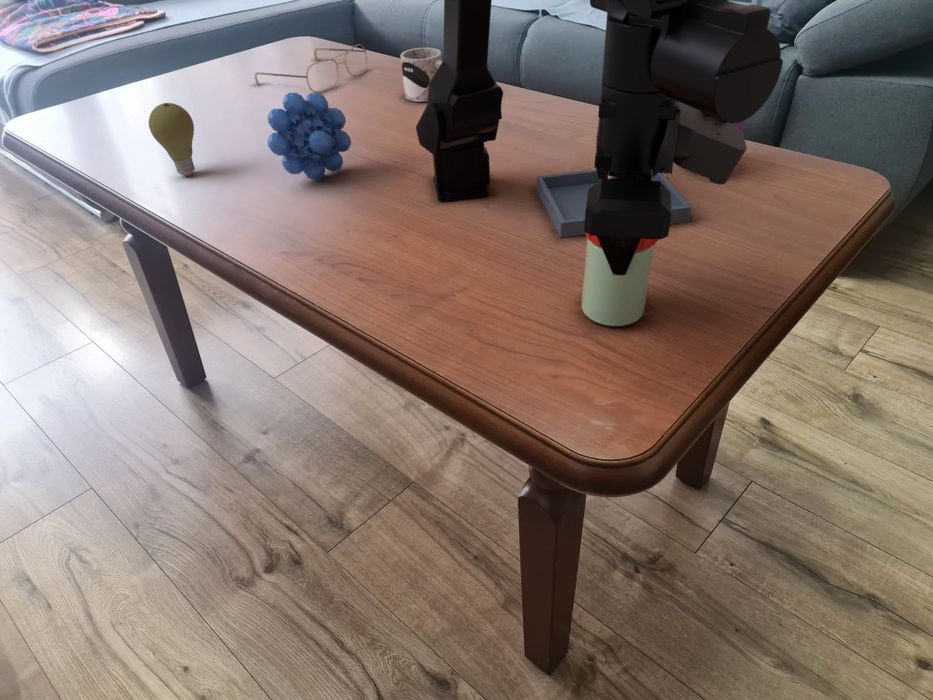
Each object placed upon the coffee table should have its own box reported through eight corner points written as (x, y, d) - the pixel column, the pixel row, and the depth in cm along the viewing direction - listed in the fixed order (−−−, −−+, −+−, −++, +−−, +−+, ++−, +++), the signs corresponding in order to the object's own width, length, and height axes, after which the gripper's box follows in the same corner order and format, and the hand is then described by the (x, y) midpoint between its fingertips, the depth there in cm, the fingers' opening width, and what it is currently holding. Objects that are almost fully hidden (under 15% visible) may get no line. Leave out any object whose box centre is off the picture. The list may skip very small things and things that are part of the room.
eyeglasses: (316, 96, 118) (310, 67, 115) (256, 85, 125) (249, 56, 122) (374, 69, 128) (370, 41, 125) (315, 59, 135) (310, 32, 132)
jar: (591, 330, 63) (600, 243, 57) (574, 292, 68) (580, 208, 62) (653, 322, 64) (668, 235, 58) (632, 285, 68) (644, 201, 62)
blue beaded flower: (296, 204, 87) (274, 111, 80) (271, 187, 91) (248, 98, 84) (371, 174, 93) (357, 85, 85) (344, 160, 97) (329, 74, 89)
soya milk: (397, 97, 115) (392, 56, 111) (421, 85, 119) (417, 45, 115) (444, 107, 110) (441, 65, 106) (467, 94, 114) (465, 53, 110)
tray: (560, 237, 77) (560, 223, 76) (536, 190, 87) (536, 176, 85) (688, 221, 78) (691, 207, 77) (651, 176, 88) (653, 162, 87)
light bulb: (216, 169, 97) (195, 99, 91) (189, 186, 93) (164, 113, 87) (187, 164, 99) (163, 94, 93) (159, 180, 95) (132, 109, 89)
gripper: (766, 133, 43) (720, 325, 54) (739, 44, 57) (706, 210, 67) (590, 127, 46) (578, 313, 56) (605, 43, 59) (592, 204, 69)
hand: (620, 254), depth 62 cm, fingers closed on lid, 6 cm apart
